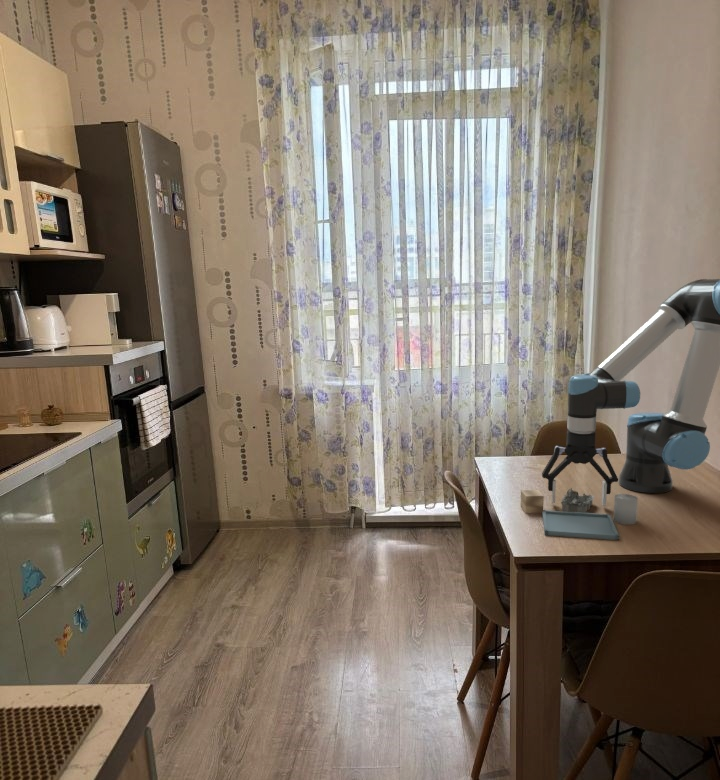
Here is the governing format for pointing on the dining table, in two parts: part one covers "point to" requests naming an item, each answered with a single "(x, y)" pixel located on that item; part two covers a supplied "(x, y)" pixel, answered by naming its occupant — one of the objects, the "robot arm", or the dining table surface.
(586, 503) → the grey castle model
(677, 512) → the dining table surface
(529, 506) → the oak block
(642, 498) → the dining table surface
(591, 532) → the tray
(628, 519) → the white cylinder
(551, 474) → the robot arm
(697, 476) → the dining table surface
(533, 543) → the dining table surface
